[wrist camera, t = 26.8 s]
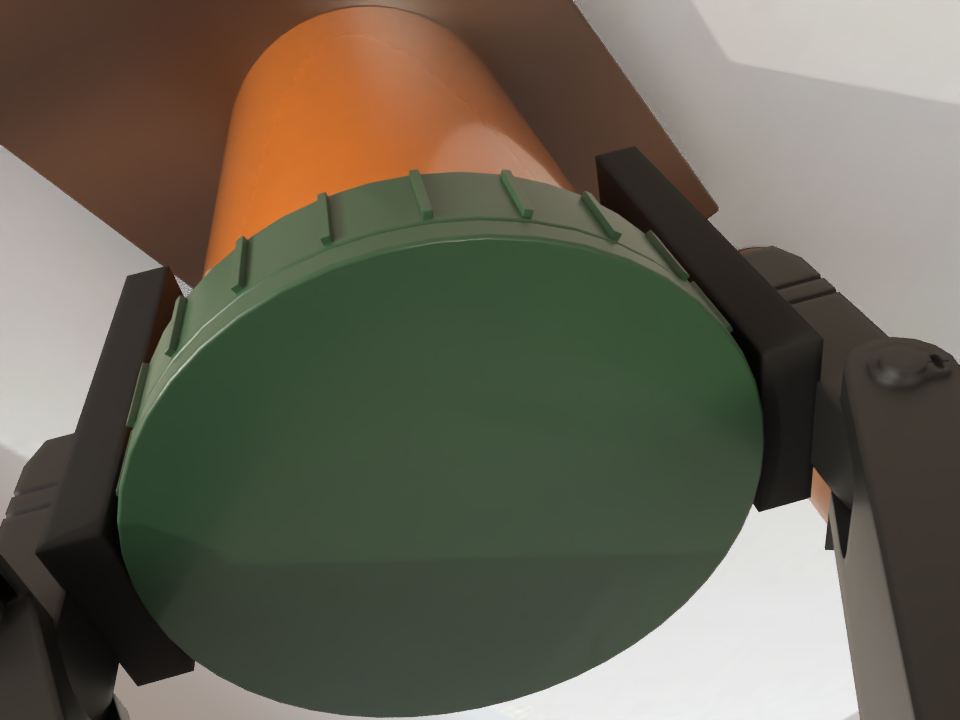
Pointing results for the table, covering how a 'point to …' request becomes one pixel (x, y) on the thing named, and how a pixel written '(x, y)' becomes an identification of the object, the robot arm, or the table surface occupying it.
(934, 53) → the table surface
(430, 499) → the lid
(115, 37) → the board
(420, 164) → the jar
